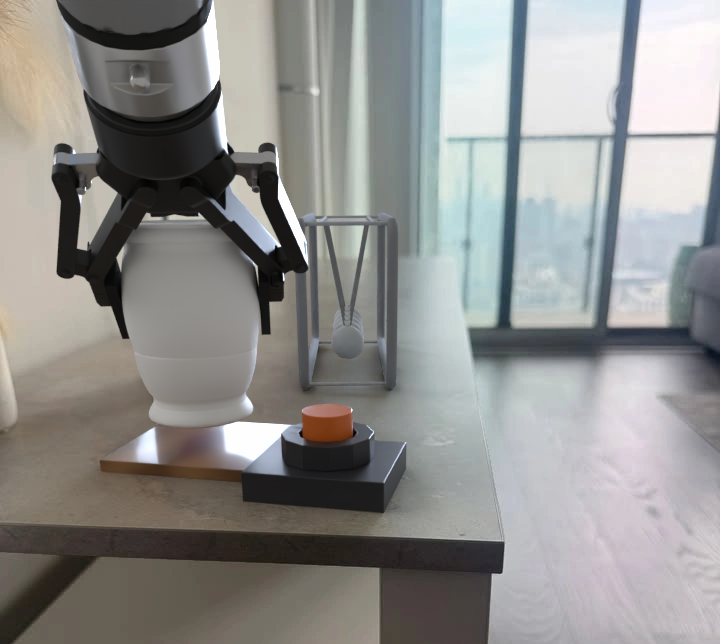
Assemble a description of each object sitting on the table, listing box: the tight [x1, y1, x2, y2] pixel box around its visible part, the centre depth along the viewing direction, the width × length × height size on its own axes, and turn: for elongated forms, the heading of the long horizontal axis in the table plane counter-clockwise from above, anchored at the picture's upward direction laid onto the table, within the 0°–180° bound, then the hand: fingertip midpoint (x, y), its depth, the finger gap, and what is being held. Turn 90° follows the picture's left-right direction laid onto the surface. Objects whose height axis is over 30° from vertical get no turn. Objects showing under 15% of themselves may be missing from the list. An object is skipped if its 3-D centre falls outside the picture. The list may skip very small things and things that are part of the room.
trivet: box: [99, 421, 293, 483], centre depth 62 cm, size 12×12×1 cm
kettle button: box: [301, 403, 354, 442], centre depth 53 cm, size 4×4×2 cm
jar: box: [120, 218, 261, 428], centre depth 58 cm, size 11×10×15 cm
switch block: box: [241, 421, 407, 514], centre depth 54 cm, size 10×9×4 cm
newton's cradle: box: [294, 212, 399, 391], centre depth 91 cm, size 30×10×18 cm, turn 1°
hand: (197, 323), depth 61 cm, fingers closed on jar, 10 cm apart
